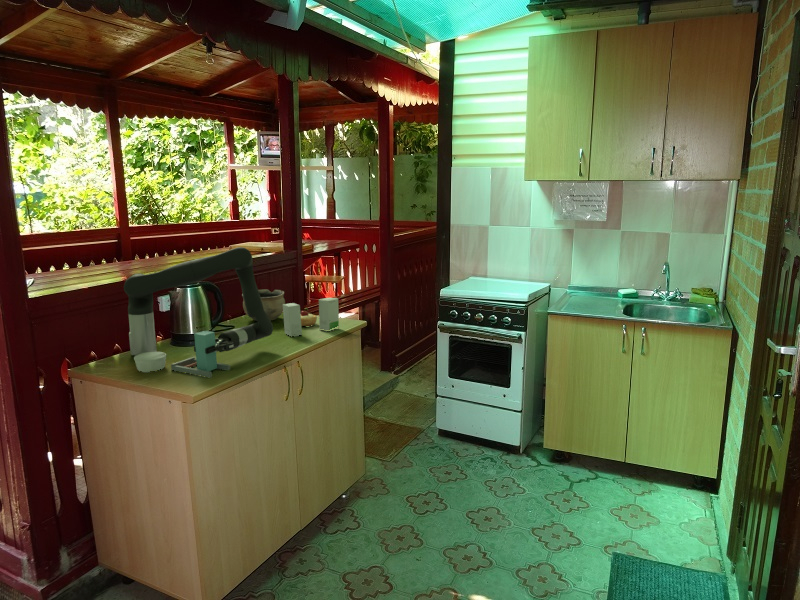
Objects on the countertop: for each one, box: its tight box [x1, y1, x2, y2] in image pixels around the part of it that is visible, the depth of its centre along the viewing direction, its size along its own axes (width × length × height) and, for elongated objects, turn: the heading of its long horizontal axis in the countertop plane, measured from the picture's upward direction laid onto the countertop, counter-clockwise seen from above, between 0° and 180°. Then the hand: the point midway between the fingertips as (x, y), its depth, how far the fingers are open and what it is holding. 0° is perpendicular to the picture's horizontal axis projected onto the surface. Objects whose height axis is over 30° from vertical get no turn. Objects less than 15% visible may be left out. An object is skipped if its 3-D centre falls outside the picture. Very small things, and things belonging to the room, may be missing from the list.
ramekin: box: [133, 351, 167, 373], centre depth 200 cm, size 11×11×5 cm
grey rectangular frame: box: [170, 356, 231, 379], centre depth 199 cm, size 19×10×2 cm, turn 64°
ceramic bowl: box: [241, 289, 286, 322], centre depth 279 cm, size 22×22×15 cm
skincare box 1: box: [282, 302, 303, 338], centre depth 250 cm, size 8×6×15 cm
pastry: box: [300, 307, 318, 327], centre depth 269 cm, size 12×12×9 cm
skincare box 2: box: [318, 297, 340, 330], centre depth 260 cm, size 8×7×16 cm
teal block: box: [193, 330, 218, 372], centre depth 196 cm, size 5×5×14 cm
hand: (200, 350), depth 194 cm, fingers closed on teal block, 5 cm apart
